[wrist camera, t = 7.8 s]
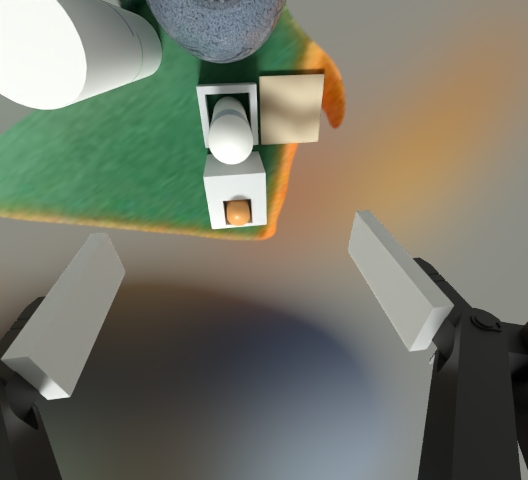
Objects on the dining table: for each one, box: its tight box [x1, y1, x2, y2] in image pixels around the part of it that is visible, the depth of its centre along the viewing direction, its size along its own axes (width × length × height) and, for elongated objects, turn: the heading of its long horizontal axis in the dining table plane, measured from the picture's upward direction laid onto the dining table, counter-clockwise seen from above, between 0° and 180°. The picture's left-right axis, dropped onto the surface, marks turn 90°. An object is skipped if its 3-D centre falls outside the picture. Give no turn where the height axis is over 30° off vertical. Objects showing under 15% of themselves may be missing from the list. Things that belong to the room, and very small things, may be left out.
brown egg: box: [227, 199, 250, 226], centre depth 43 cm, size 4×4×6 cm
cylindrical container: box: [0, 0, 162, 109], centre depth 26 cm, size 7×7×25 cm
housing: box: [196, 82, 267, 229], centre depth 41 cm, size 20×9×10 cm, turn 1°
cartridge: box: [208, 96, 253, 164], centre depth 36 cm, size 5×5×16 cm
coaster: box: [259, 74, 324, 145], centre depth 42 cm, size 10×10×1 cm
